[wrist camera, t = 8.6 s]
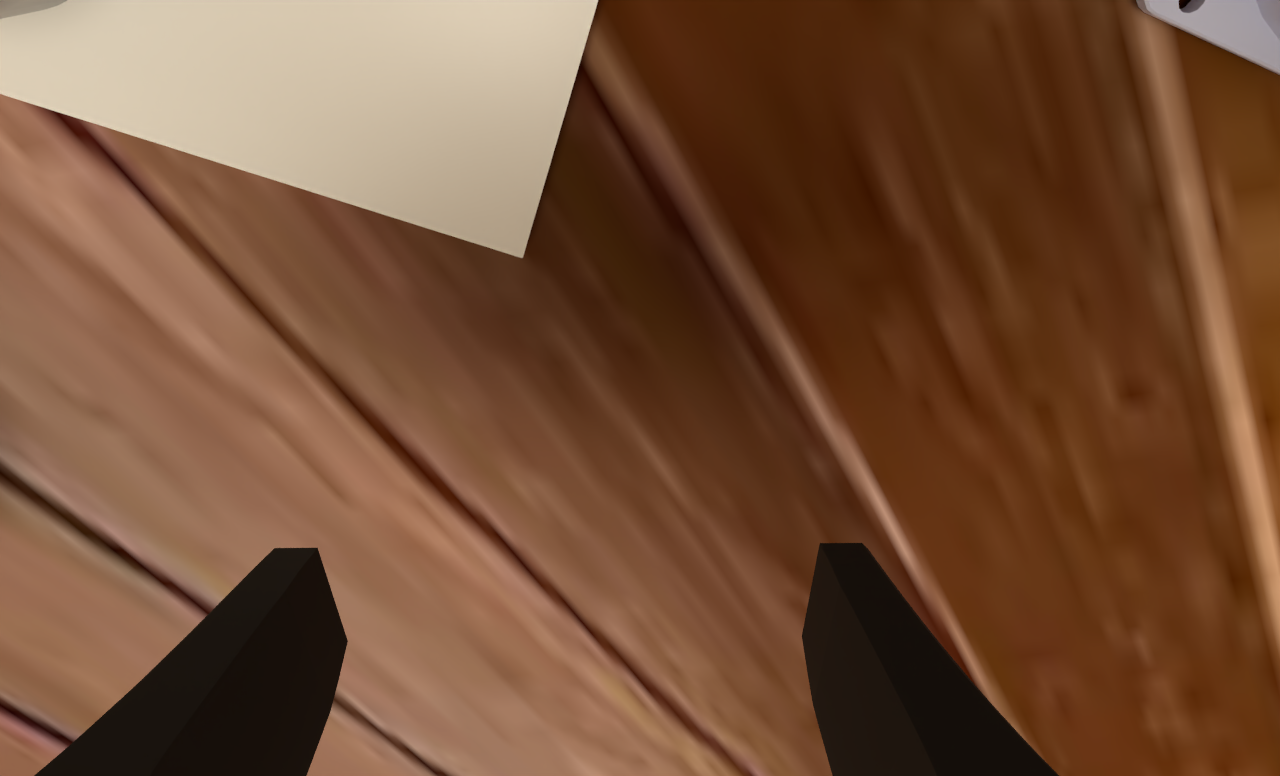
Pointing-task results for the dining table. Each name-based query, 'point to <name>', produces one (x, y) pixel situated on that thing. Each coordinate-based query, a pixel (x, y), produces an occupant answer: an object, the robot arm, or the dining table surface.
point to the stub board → (325, 93)
